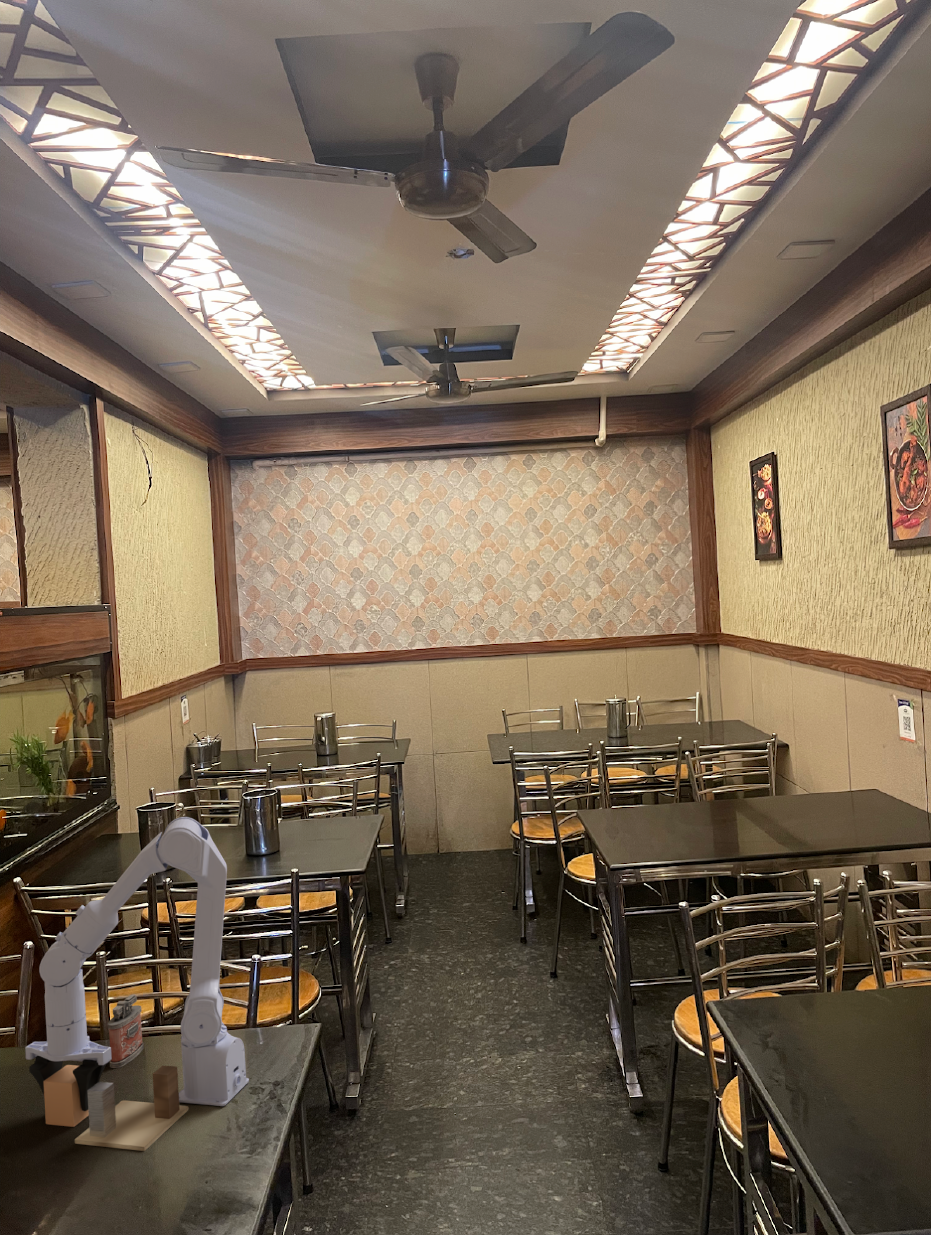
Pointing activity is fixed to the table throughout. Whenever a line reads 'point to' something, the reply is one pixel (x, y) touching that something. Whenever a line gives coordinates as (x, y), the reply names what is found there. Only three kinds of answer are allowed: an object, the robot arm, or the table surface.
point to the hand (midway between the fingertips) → (71, 1105)
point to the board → (133, 1127)
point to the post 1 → (101, 1109)
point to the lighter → (125, 1032)
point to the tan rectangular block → (63, 1098)
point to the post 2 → (166, 1092)
